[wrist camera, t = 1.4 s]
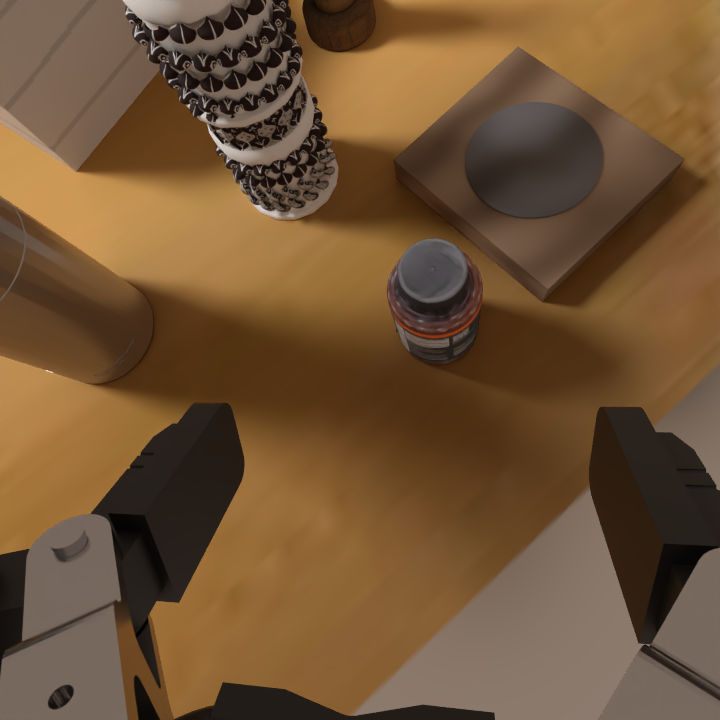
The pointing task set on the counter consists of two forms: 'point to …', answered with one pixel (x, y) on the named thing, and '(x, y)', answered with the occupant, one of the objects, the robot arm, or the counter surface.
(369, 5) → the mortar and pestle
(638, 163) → the base board
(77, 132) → the pizza boxes
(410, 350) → the supplement bottle
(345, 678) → the counter surface
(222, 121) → the decorative candle
